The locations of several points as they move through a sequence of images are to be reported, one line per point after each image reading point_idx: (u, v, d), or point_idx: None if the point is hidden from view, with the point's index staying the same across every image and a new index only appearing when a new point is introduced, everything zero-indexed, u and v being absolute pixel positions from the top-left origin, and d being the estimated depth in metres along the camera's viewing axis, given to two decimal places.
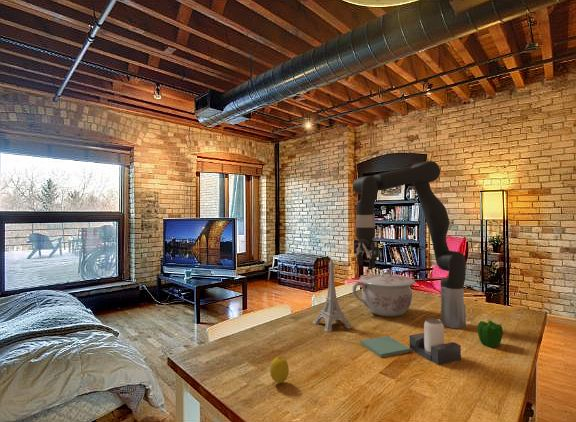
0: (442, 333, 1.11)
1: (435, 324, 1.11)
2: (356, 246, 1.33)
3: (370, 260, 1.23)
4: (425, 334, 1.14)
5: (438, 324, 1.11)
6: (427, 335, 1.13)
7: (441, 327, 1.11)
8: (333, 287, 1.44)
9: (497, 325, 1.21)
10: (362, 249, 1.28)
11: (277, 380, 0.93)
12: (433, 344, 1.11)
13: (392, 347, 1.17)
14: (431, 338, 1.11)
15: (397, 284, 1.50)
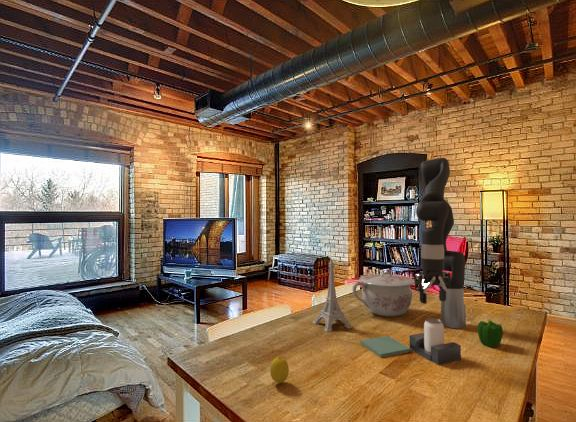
0: (442, 333, 1.11)
1: (435, 324, 1.11)
2: None
3: (444, 292, 1.15)
4: (425, 334, 1.14)
5: (438, 324, 1.11)
6: (427, 335, 1.13)
7: (441, 327, 1.11)
8: (333, 287, 1.44)
9: (497, 325, 1.21)
10: (433, 283, 1.13)
11: (277, 380, 0.93)
12: (433, 344, 1.11)
13: (392, 347, 1.17)
14: (431, 338, 1.12)
15: (397, 284, 1.50)
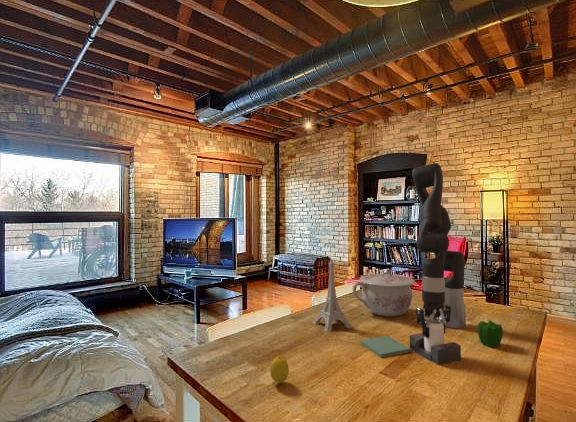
0: (442, 333, 1.11)
1: (435, 324, 1.11)
2: None
3: (444, 326, 1.14)
4: None
5: (438, 324, 1.11)
6: None
7: (441, 327, 1.11)
8: (333, 287, 1.44)
9: (497, 325, 1.21)
10: (435, 315, 1.13)
11: (277, 380, 0.93)
12: (433, 344, 1.11)
13: (392, 347, 1.17)
14: (431, 338, 1.12)
15: (397, 284, 1.50)
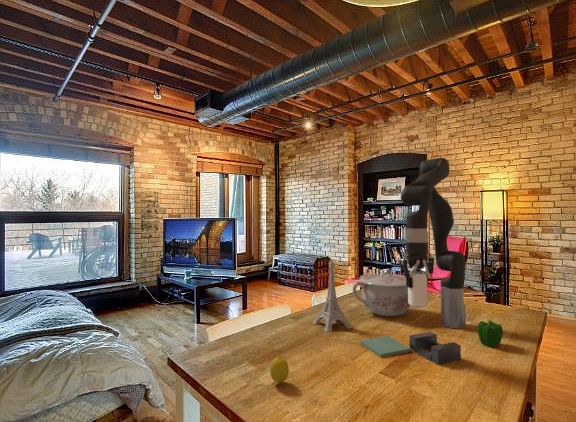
0: (425, 283, 1.13)
1: (418, 274, 1.13)
2: None
3: (427, 277, 1.16)
4: None
5: (421, 274, 1.13)
6: None
7: (424, 277, 1.13)
8: (333, 287, 1.44)
9: (497, 325, 1.21)
10: (418, 266, 1.15)
11: (277, 380, 0.93)
12: (417, 294, 1.13)
13: (392, 347, 1.17)
14: (414, 288, 1.13)
15: (397, 284, 1.50)
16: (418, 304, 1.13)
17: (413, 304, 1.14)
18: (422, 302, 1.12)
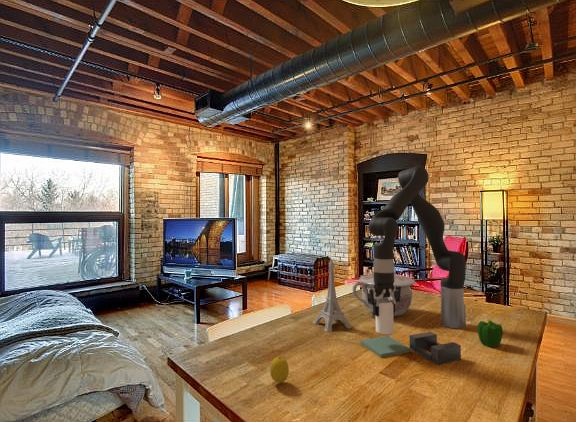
0: (391, 312, 1.17)
1: (384, 303, 1.17)
2: None
3: (394, 305, 1.21)
4: None
5: (387, 303, 1.17)
6: None
7: (390, 306, 1.17)
8: (333, 287, 1.44)
9: (497, 325, 1.21)
10: (385, 295, 1.19)
11: (277, 380, 0.93)
12: (382, 322, 1.17)
13: (392, 347, 1.17)
14: (380, 317, 1.18)
15: (397, 284, 1.50)
16: (384, 332, 1.17)
17: (379, 332, 1.18)
18: (387, 330, 1.17)
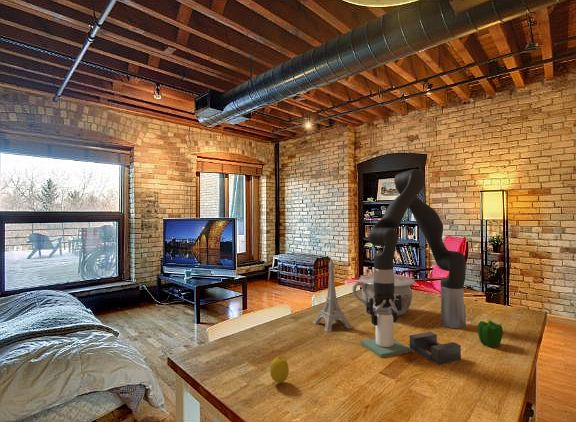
0: (391, 324, 1.17)
1: (384, 315, 1.17)
2: None
3: (395, 314, 1.21)
4: None
5: (387, 315, 1.17)
6: (377, 326, 1.19)
7: (390, 318, 1.17)
8: (333, 287, 1.44)
9: (497, 325, 1.21)
10: (384, 306, 1.19)
11: (277, 380, 0.93)
12: (382, 334, 1.17)
13: (392, 347, 1.17)
14: (380, 329, 1.18)
15: (397, 284, 1.50)
16: (384, 345, 1.17)
17: (379, 344, 1.18)
18: (387, 343, 1.17)
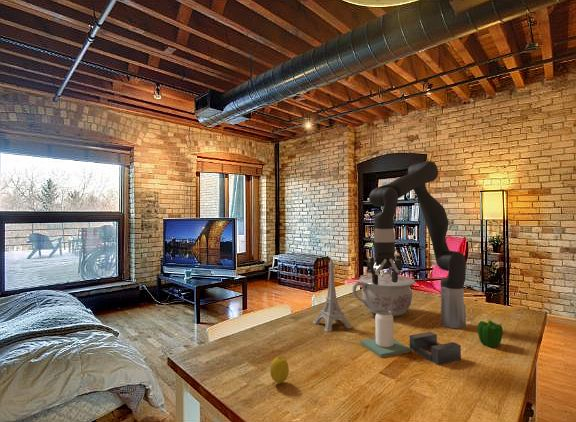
0: (391, 324, 1.17)
1: (384, 315, 1.17)
2: None
3: (396, 274, 1.21)
4: (376, 325, 1.20)
5: (387, 315, 1.17)
6: (377, 326, 1.19)
7: (390, 318, 1.17)
8: (333, 287, 1.44)
9: (497, 325, 1.21)
10: (385, 265, 1.19)
11: (277, 380, 0.93)
12: (382, 334, 1.17)
13: (392, 347, 1.17)
14: (380, 329, 1.18)
15: (397, 284, 1.50)
16: (384, 345, 1.17)
17: (379, 344, 1.18)
18: (387, 343, 1.17)
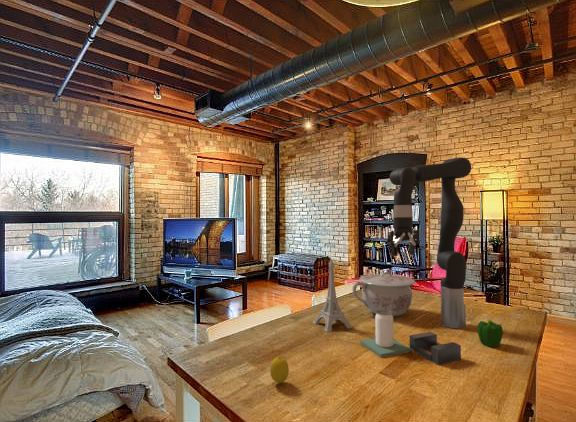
0: (391, 324, 1.17)
1: (384, 315, 1.17)
2: None
3: (413, 247, 1.33)
4: (376, 325, 1.20)
5: (387, 315, 1.17)
6: (377, 326, 1.19)
7: (390, 318, 1.17)
8: (333, 287, 1.44)
9: (497, 325, 1.21)
10: (403, 239, 1.31)
11: (277, 380, 0.93)
12: (382, 334, 1.17)
13: (392, 347, 1.17)
14: (380, 329, 1.17)
15: (397, 284, 1.50)
16: (384, 345, 1.17)
17: (379, 344, 1.18)
18: (387, 343, 1.17)
